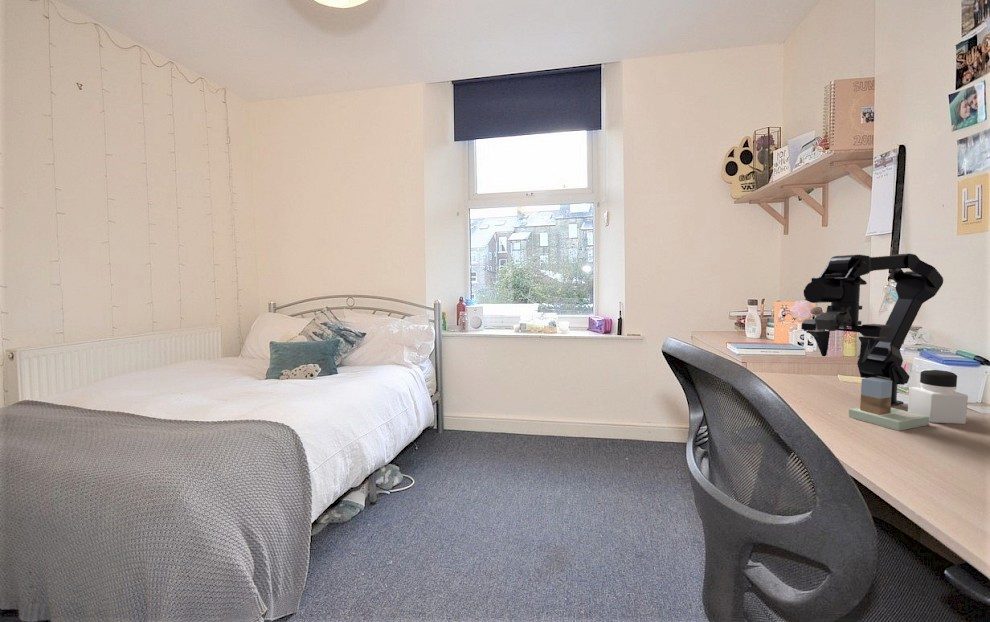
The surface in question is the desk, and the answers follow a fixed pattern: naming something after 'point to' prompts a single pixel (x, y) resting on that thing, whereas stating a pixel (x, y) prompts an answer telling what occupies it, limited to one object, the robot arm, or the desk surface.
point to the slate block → (876, 387)
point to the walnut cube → (875, 405)
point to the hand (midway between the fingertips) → (842, 359)
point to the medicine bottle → (938, 398)
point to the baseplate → (891, 418)
